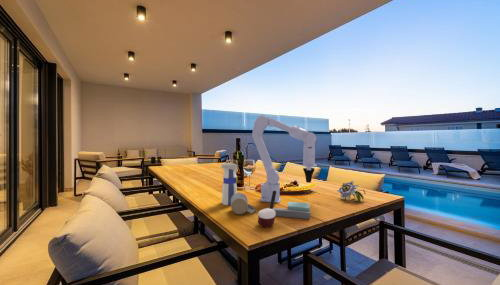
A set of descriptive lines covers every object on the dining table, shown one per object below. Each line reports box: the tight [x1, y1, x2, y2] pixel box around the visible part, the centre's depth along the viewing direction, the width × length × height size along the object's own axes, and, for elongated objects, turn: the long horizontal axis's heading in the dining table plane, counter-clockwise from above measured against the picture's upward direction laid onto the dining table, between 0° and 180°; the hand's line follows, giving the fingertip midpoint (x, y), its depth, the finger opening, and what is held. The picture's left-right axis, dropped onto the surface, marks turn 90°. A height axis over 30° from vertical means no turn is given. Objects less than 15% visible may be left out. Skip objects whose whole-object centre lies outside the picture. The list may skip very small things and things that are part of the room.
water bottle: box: [221, 152, 239, 206], centre depth 110 cm, size 8×9×25 cm
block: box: [286, 201, 311, 211], centre depth 96 cm, size 9×7×4 cm
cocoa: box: [257, 191, 276, 228], centre depth 82 cm, size 10×6×12 cm, turn 113°
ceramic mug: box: [230, 192, 256, 216], centre depth 97 cm, size 11×8×8 cm
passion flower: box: [336, 180, 366, 203], centre depth 119 cm, size 11×11×12 cm
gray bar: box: [273, 207, 311, 220], centre depth 92 cm, size 15×2×2 cm, turn 76°
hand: (308, 182), depth 113 cm, fingers closed
